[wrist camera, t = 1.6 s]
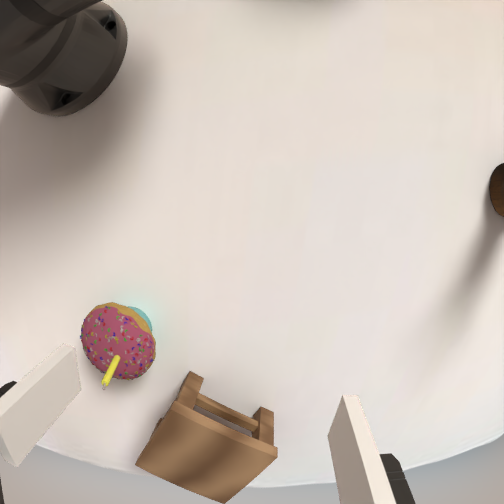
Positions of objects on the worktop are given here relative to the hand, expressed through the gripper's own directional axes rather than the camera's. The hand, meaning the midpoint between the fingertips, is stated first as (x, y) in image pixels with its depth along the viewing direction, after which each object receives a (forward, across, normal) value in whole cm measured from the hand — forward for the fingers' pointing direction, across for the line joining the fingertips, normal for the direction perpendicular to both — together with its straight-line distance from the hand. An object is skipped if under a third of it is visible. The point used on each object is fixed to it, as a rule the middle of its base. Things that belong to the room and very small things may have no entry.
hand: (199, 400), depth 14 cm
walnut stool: (+20, -1, -19) cm, 27 cm away
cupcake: (+20, -11, -8) cm, 24 cm away
